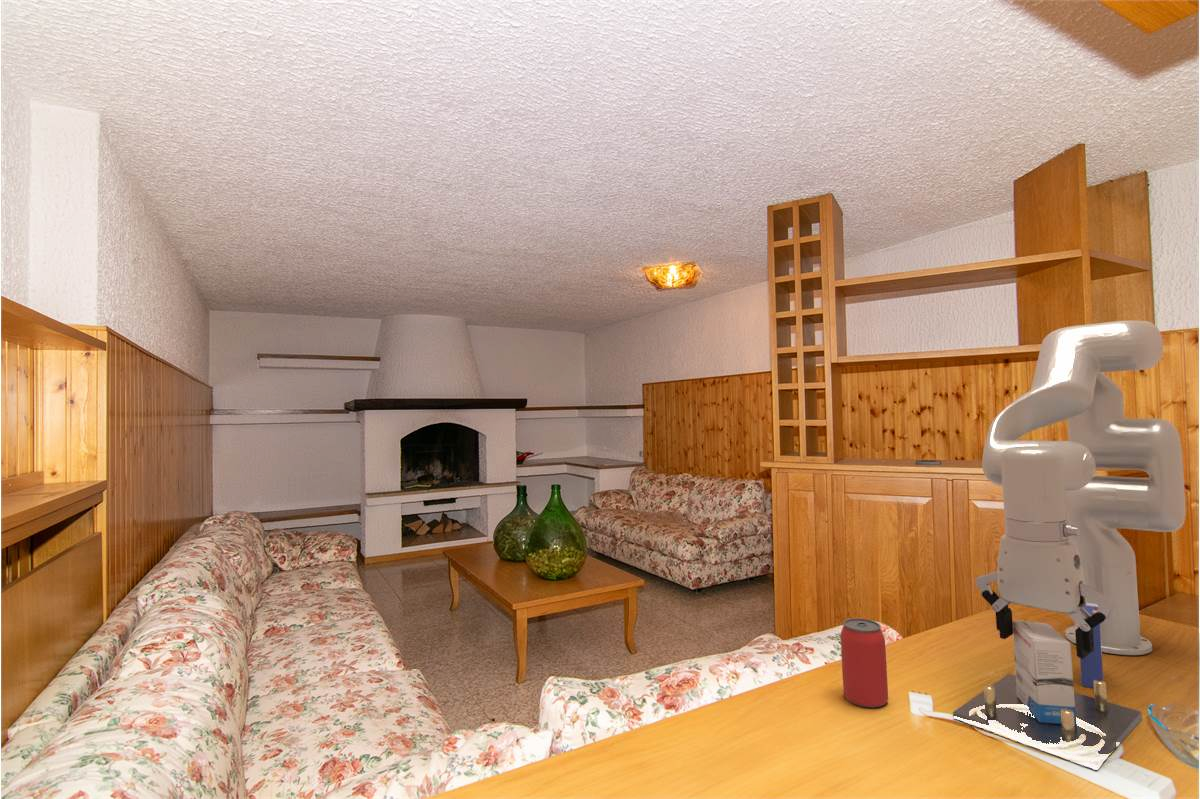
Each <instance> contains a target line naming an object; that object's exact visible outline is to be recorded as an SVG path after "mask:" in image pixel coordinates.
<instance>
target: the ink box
mask: <svg viewBox="0 0 1200 799" xmlns="http://www.w3.org/2000/svg"><path fill="white" fill-rule="evenodd" d="M1012 621H1013V620H1012ZM1012 635H1013V650H1014V653H1013V654H1014V668H1015V676H1016V688H1017V697H1018V698H1019V699H1020V700H1021V701H1022V703H1023V704H1024V705H1027V706H1028V707H1029V710H1030V712H1031V713H1032V714H1033V715H1034V717H1035V718H1036V719H1037V720H1038V721H1039V722H1042V723H1055V724H1061V709H1069V710H1072V711H1073V712H1074V725H1077V724H1076V711H1075V700H1074V692H1075V688H1074V676H1073V673H1074V672H1073V659H1072V645H1071V644H1072V642H1071V641H1070V640H1068V639H1067V638H1066V637H1065V636H1063V635H1062V634H1061V633H1059V632H1058V631H1057V630H1056V629H1055V628H1054V627H1053V626H1051V625H1050V624H1049V623H1048V622H1036V621H1035V622H1034V621H1025V620H1014V621H1013V634H1012Z"/></svg>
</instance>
